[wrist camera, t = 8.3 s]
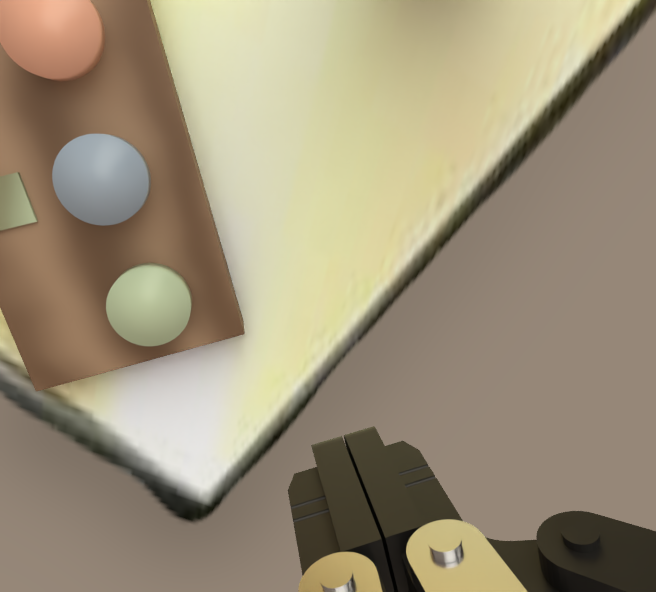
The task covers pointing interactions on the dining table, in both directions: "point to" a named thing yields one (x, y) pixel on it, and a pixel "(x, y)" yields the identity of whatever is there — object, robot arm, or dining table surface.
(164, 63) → the console
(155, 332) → the button sage
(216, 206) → the dining table surface
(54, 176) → the button slate
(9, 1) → the button terracotta
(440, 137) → the dining table surface
